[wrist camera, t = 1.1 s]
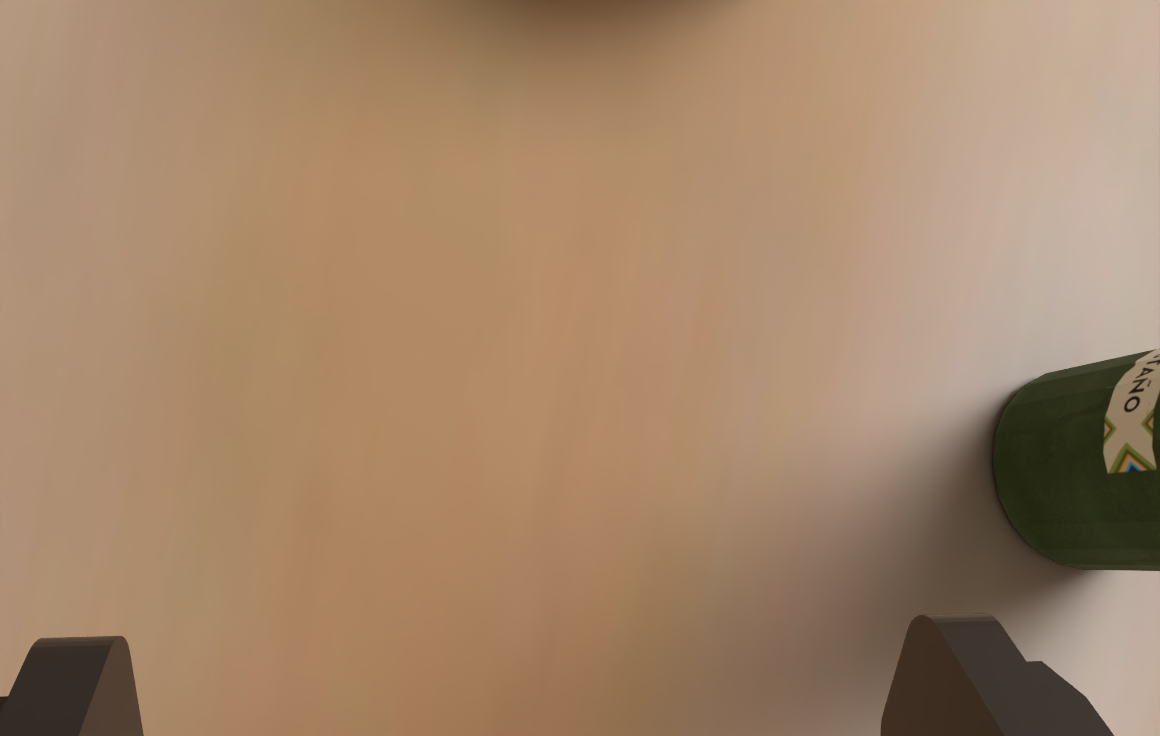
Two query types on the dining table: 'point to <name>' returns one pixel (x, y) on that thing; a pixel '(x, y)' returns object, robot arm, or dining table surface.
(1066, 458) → the wine bottle
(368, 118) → the dining table surface
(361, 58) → the dining table surface
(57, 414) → the dining table surface
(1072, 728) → the robot arm
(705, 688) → the dining table surface
